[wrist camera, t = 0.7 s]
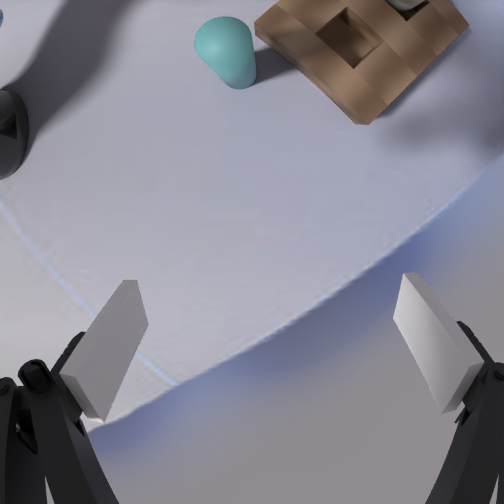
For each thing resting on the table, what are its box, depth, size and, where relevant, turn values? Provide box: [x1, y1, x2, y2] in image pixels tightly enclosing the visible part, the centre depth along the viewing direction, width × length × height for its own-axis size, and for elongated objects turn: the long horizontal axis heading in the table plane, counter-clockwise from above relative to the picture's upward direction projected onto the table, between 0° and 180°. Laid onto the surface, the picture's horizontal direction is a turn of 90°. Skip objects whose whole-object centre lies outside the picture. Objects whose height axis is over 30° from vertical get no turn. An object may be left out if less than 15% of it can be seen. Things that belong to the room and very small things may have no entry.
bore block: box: [254, 0, 469, 125], centre depth 22 cm, size 16×22×11 cm
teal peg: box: [194, 17, 257, 89], centre depth 24 cm, size 4×4×15 cm
